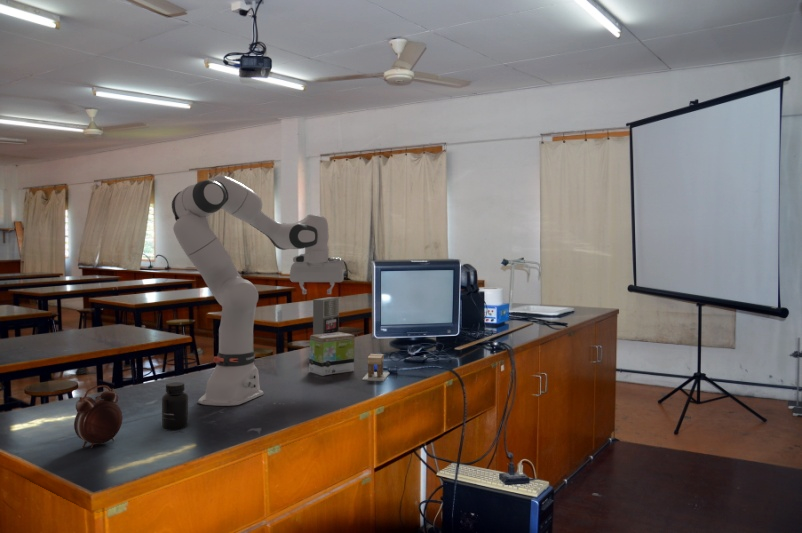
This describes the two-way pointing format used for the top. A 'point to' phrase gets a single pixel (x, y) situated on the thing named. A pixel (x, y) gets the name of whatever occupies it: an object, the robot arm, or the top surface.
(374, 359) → the tan pronged block
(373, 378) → the mat
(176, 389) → the supplement bottle
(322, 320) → the grey game cartridge
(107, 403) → the alarm clock
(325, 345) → the tea box
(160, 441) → the top surface
